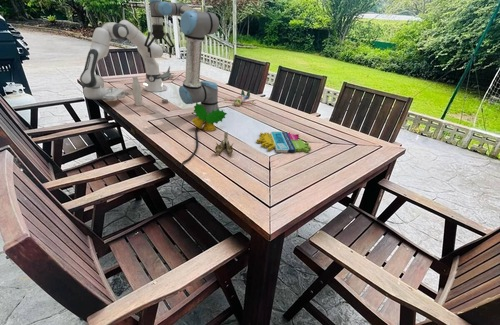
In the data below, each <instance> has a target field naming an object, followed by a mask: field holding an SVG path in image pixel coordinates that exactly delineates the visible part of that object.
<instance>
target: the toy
mask: <svg viewBox="0 0 500 325" xmlns="http://www.w3.org/2000/svg"><path fill="white" fill-rule="evenodd" d="M240 92H241V93H240V95H238V96H237V97H235V99H233V98H230V99H228V98H227V97H226V96H225V97H224V98H223V101H224V102H233V103H232V104H233V105H235V106H242V103H243V104H247V105H252V106H255V105H256V104H257V103H256V102H254V101H253V100H252V101H251V102H250V101H248V100H246V99H248V98H250V97H251V90H250V89H249V90H248V91H247V92H246V93H245V91H244V89H242V90H241V91H240Z"/></svg>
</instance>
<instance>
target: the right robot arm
mask: <svg viewBox="0 0 500 325" xmlns="http://www.w3.org/2000/svg"><path fill="white" fill-rule="evenodd" d="M148 2H149V11H150V21H151V30H152V31H147V35H146V37H147V39H146V41H145V44H144V46H146V47H147V49H148V52H150V58H152V57H151V49H150V45H151V44H152V42H155V40H163V41H164V43H166V45H167V46H168V54H169V58H170V59H172V53H173V48H175V44H174V43H173V41H172V39H171V37H170V33H169V32H165V29H164V16H172V17H173V16H174V17H180V22H179V23H180V24H179V25H180V31H181V32H182V34H183V37H184V38H185V39H186V54H185V78H184V80H183V81H182V85H181V86H179V88H178V94H179V97H180V100H181V101H182V102H183V103H184V104H185V105H193V104H196V102H197V103H198V104H199V103H200V104H201V106H204V109H206V112H208V113H211V112H212V110H214V111H216V110H217V109H219V111H221V110H220V108H219V102H218V99H219V98H218V97H219V87H218V84H217V83H216V82H214V81H210V80H200V77H201V75H200V74H201V59H202V45H203V42H204V41H205V39H206V35H208V36H209V35H213V34H215V33H216V32H217V31H218V30H219V28H220V19H219V17H218V16H217V15H216V14H215V13H213V12H210V11H202V10H200V9H197V8H194V7H192V6H189V4H187V3H183V2H182V3H181V2H173V1H171V2H170V1H162V0H148ZM151 36H152V38H151V39H150V37H151ZM165 36H166V37H167V39H168V40H167V39H166V38H165ZM149 39H150V40H151V41H150V42H149V44H148V45H147V43H148V40H149ZM169 42H170V43H169ZM208 113H207V115H208ZM203 125H205V121H204V123H203ZM195 127H196V128H195V132H194V133H195V140H196V141H195V142H196V144H195V149H194V151H193V152H192V154H191V155H190V156H189V157H188V158H187V159H184V160H183V161H182V162H181V164H180V166H179V168H180V169H182V168H183V166H184V164H185V163H187V162H189V161H190V160H191V159H192V158H193V157H194V155H195V154H196V152H197V150H198V148H199V138H198V129H199V128H198V127H197V126H195Z"/></svg>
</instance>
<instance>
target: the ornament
mask: <svg viewBox="0 0 500 325" xmlns="http://www.w3.org/2000/svg"><path fill="white" fill-rule="evenodd" d="M219 110H220V108H219V109H217V110H216V111H214V110H212V112H211V113H208V112H206V109H204V106H201V103H199V102H198V103H197V102H196V103H195V105H194V106H193V112H194V113H195V118H192V119H191V122H192V123H193V125H195V127H198V129H202V130H203V131H206V132H212V131H213V132H214V131H215V130H216V126H215V124H218V123H219V122H223V119H226V115H227V114H228V113H227V112H224V110H223V109H221V110H220V111H219ZM207 113H208V115H207ZM204 122H205V123H204ZM203 123H204V124H203ZM214 123H215V124H214Z"/></svg>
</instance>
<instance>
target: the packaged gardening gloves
mask: <svg viewBox="0 0 500 325" xmlns="http://www.w3.org/2000/svg"><path fill="white" fill-rule="evenodd" d="M299 136H300V135H299V134H298V133H296V134H294V133H291V132H287V131H270V132H264V133H263V132H260V133H259V139H258V138H257V139H256V143H257V144H261V148H263V147H264V148H265V149H267V151H268V152H271V151H272V150H273V149H275V152H276V153H283V154H285V153H287V154H288V153H290V154H293V153H296V152H298V153H301V152H305V153H310V151H311V150H312V149H311V148H312V146H309V142H304V141H303V139H302V138H299Z"/></svg>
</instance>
